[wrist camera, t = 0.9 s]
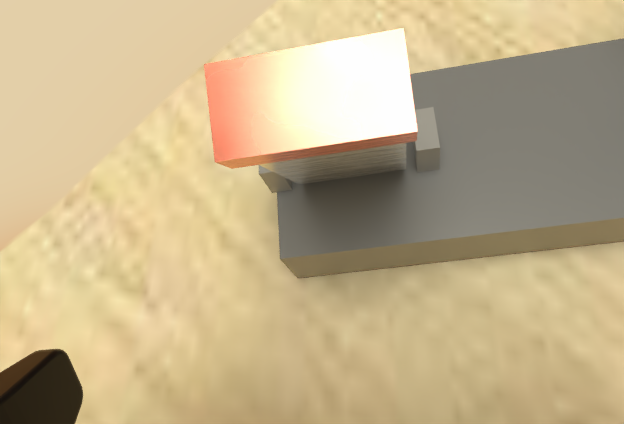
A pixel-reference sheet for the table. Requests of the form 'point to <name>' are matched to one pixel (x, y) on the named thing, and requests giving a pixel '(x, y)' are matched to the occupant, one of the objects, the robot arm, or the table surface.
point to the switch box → (477, 170)
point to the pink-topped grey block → (315, 109)
